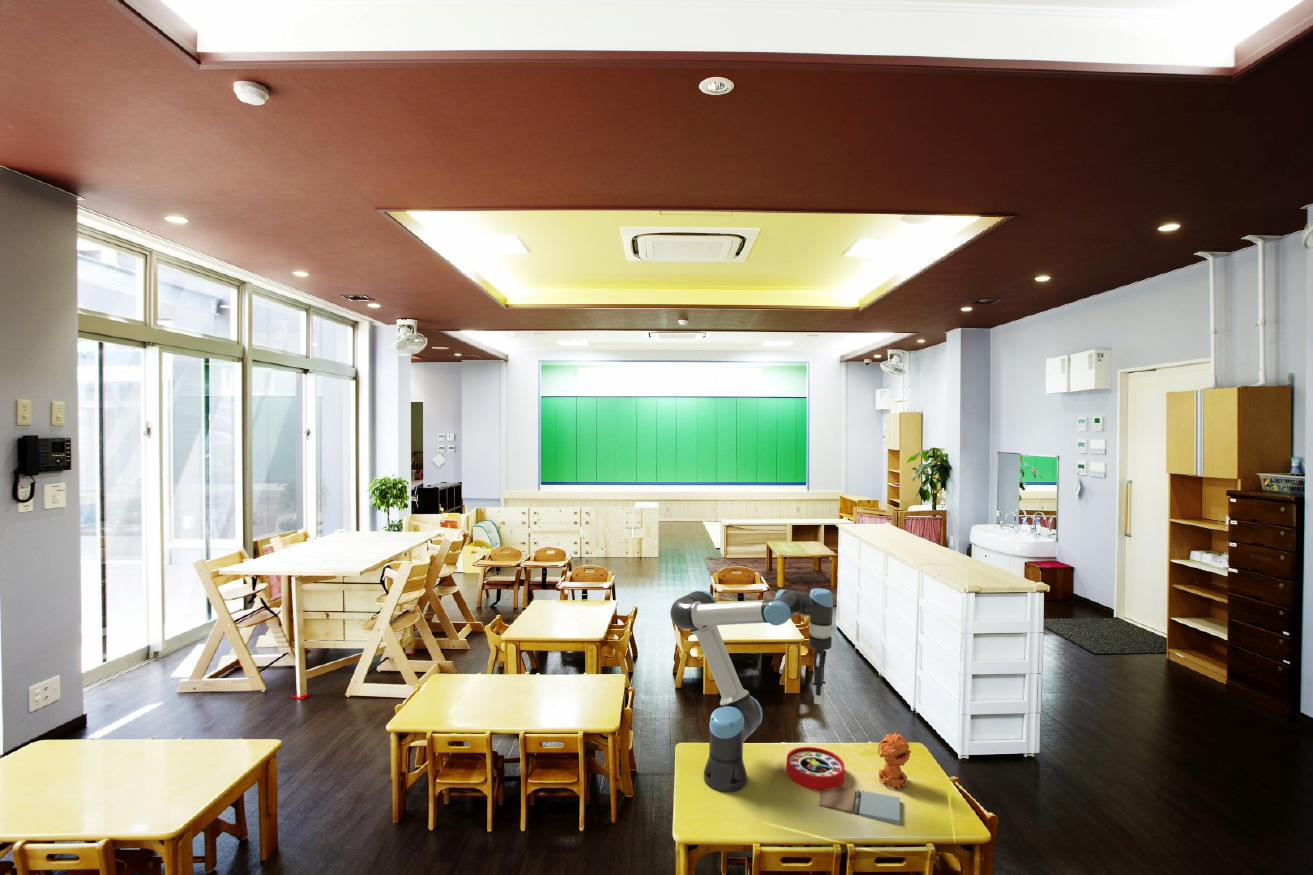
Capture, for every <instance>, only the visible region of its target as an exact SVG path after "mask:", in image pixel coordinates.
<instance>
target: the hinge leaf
mask: <svg viewBox="0 0 1313 875" xmlns="http://www.w3.org/2000/svg"><path fill="white" fill-rule="evenodd" d="M900 798H901V797H898V796H893V795H888V794H881V793H877V792H875V793H874V792H870V791H864V790H861V796H860V799H859V798H856V797H855V799H854V806H855V805H858V806H859V815H858V816H860V817H865V818H867V819H868V818H869V819H873V820H877V821H881V822H886V823H888V824H889V823H890V824H893V825H894V824H895V825H897V826H901V800H900Z"/></svg>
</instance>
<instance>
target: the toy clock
mask: <svg viewBox="0 0 1313 875" xmlns="http://www.w3.org/2000/svg"><path fill="white" fill-rule="evenodd" d="M804 763H808V764H807V765H804V766H803V765H802V764H804ZM785 764H786V774H787V776H788V778H789V779H790V780H791V781H793V783H795V784H796V785H798V786H800V787H804V788H806V789H809V790H813V791H820V792H822V789H827V788H833V787H836V786H841V787H842V786H843V784H844V783H845V767H846V766H845V762H844V761H843V759H841V758H840V756H838V755H837V754H835V753H834V752H832V751H829V750H826V749H824V748H820V747H814V746H803V747H801V746H800V747H797V748H794V749H791V750H790V751H789V752H788V753H787V754H786V763H785ZM826 768H827V769H829V770H826Z"/></svg>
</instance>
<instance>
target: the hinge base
mask: <svg viewBox="0 0 1313 875" xmlns="http://www.w3.org/2000/svg"><path fill="white" fill-rule="evenodd" d="M861 793H862V791H861V790H858V789H857V790H856V789H853V788H849V787H845V786H842V785H841V786H836V787H833V788H827V789H822V791H821V794H820V799H819V802H818V805H819V807H822V808H823V807H824V808H826V809H827V808H828V809H830V810H836V811H840V812H843V813H847V814H852V815H856V816H860V815H859V812H860V805H859V806H858V805H855V799H856V798H859V799H860V800H861Z"/></svg>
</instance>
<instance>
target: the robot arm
mask: <svg viewBox="0 0 1313 875" xmlns="http://www.w3.org/2000/svg"><path fill="white" fill-rule="evenodd" d="M833 599H834V598H833V592H832V591H831V590H828V589H825V588H818V587H817V588H812V589H811V590H810V593H807V592H806V593H805V592H801V591H796V590H795V591H794V590H791V589H783V588H782V589H778V590H777V592H776V594H775V598H774V599H765V600H764V599H761V600H759V599H758V600H745V601H744V600H743V601H728V602H717V599H716V598H715V596H714V595H713V594H712V593H710V592H709V591H707V590H704V589H703V590H701V589H700V590H699V589H698V590H695V591H692V592H691V593H688V594H686V595H683V596H682V597H679V598H677V599H676V600H675V601H674V602H673V603H672V605H671V608H670V619H671V621H672V623H673V624H674V625H675V626H676V627H677V628H678V629H681V630H686V631H688V630H689V631H690V633H691V634H693V635H695V636H696V638H697V641H698V643H699V645H700V648H701V650H702V653H703V655H704V658H705V661H706V663H707V665H708V668H709V670H710V672H711V675H712V677H713V679H714V682H715V685H716V687H717V689H718V691H719V694H720V696H721V698H720V701H719V705H720V707H718V708H716V709H715V710H713V711H712V713H711V715H710V719H709V720H710V721H709V742H708V744H709V747H708V748H709V749H708V750H709V754H708V758H707V761H706V764H705V767H704V769H703V780H704V783H705V784H706V785H707V786H708V787H710V788H711V789H713V790H717V791H719V792H724V793H725V792H727V793H730V792H731V793H733V792H737V791H741V790H742V789H744V788H745V787H746V786H747V784H748V774H747V770H746V767H745V763H744V758H743V753H744V752H743V750H744V742H745V741H746V740H747V739H748V738H749V737H750V736H751V735H752V734H753V733H754V732H755V731H756V730H757V729H758V728H759V727H760V725H761V723H762V720H763V709H762V706H761V704H760V703H759V701H758V700H757V699H756V698H754V697H753V696H751V694H750V692H749V690H747V689H744V687H743V685H742V683H741V681H740V678H739V676H738V674H737V671H736V669H735V666H734V664H733V661H732V658H731V657H730V655H729V652H728V650H727V647H726V645H725V643H724V640H723V638H722V636H721V632H720V630H719V628H718V626H725V625H726V626H728V625H749V624H751V625H752V624H753V625H755V624H771V626H780V625H783V624H785V623H787V622H788V621H789V620H790V619H792V618H793V617H794V616H795V615H800V616H805V617H809V621H808V622H809V626H808V633H809V634H808V645H809V647H810V648H813V649H814V652H812V653H813V654H812V657H813V671H814V672H813V682H812V686H814V688H813V689H814V692H813V695H814V697H813V704H815V705H821V706H823V702H824V700H823V699H824V685H825V684H826V681H825V680H824V679H825V664H826V657H827V651H828V650H830V649H831V648H832V644H833V643H832V642H833V641H832V640H833V637H832V635H833V634H832V632H833V631H834V630H835V628H834V626H833V611H834V610H833V609H834V603H833V602H834V601H833ZM826 650H827V651H826Z"/></svg>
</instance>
